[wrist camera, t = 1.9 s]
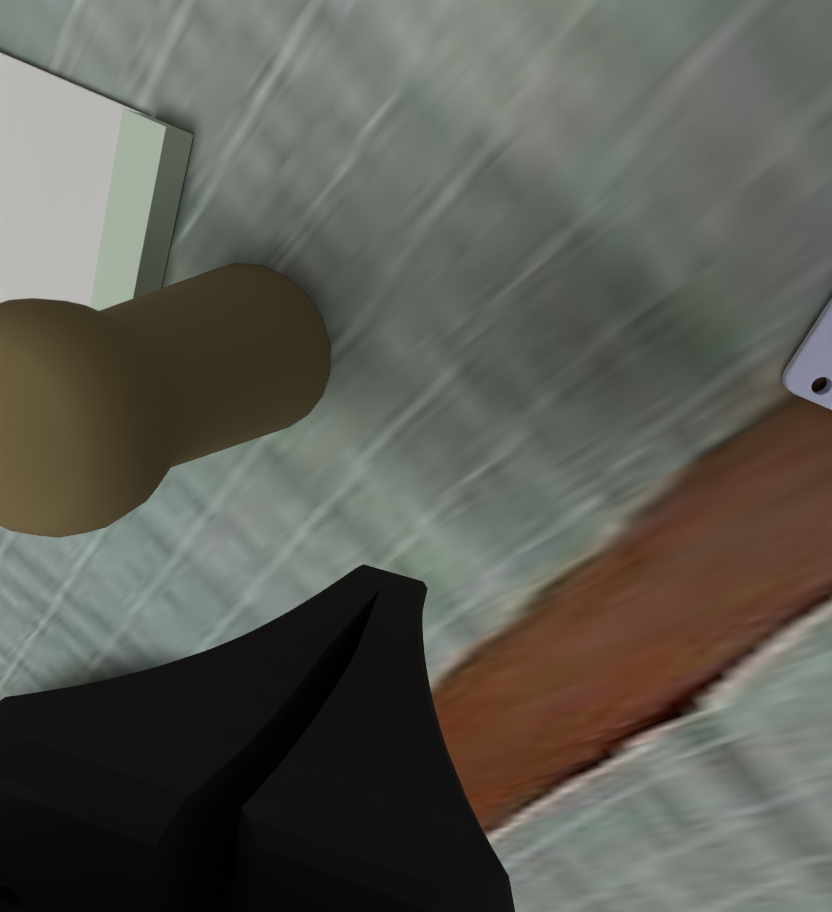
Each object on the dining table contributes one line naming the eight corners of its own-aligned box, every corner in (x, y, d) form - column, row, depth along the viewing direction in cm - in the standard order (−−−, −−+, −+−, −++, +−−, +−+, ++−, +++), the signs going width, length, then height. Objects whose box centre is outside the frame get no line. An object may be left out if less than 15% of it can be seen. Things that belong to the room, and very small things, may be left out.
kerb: (193, 134, 20) (165, 126, 19) (127, 449, 25) (101, 462, 23) (153, 117, 20) (122, 108, 19) (94, 434, 25) (67, 445, 23)
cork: (359, 398, 22) (179, 534, 12) (224, 453, 24) (-30, 611, 14) (282, 232, 20) (7, 223, 10) (146, 305, 22) (-197, 357, 12)
